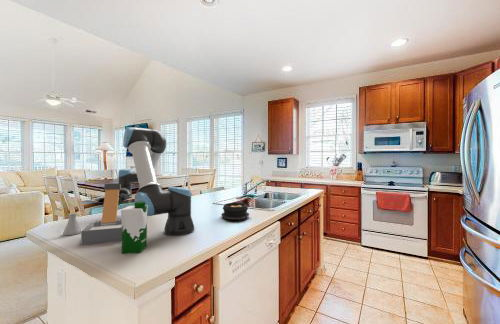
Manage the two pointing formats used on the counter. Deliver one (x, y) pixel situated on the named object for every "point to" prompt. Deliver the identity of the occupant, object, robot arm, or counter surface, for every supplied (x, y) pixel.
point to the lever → (110, 203)
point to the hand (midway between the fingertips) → (114, 201)
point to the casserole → (235, 211)
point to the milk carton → (134, 228)
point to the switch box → (102, 232)
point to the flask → (72, 225)
